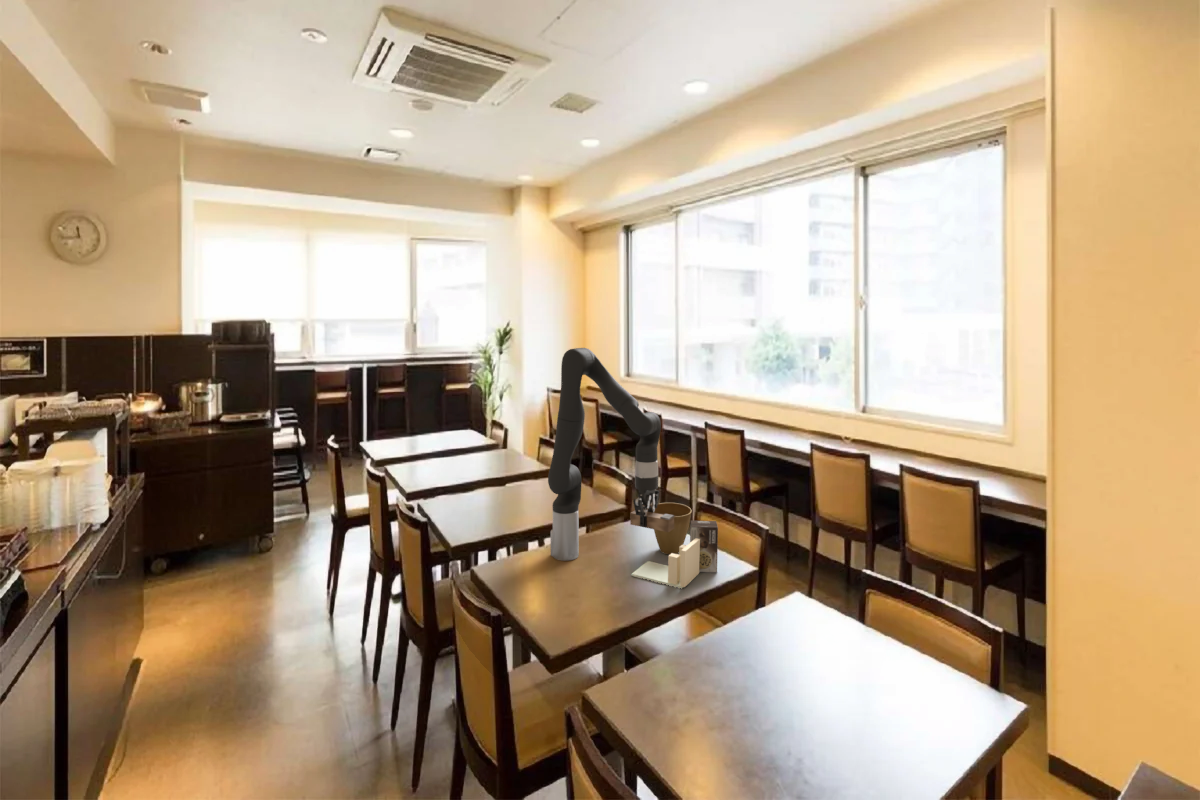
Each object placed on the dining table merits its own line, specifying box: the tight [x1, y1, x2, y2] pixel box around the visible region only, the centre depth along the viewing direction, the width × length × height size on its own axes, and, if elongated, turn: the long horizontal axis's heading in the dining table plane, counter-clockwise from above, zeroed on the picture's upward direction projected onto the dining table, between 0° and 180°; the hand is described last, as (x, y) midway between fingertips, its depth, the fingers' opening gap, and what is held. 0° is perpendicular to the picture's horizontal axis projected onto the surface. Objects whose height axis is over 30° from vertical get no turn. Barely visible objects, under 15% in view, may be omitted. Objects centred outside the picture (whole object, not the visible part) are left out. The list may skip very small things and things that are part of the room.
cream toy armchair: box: [631, 538, 700, 590], centre depth 198 cm, size 19×12×13 cm, turn 59°
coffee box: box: [689, 519, 719, 573], centre depth 203 cm, size 9×6×16 cm
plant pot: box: [653, 502, 693, 555], centre depth 218 cm, size 15×15×16 cm
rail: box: [629, 510, 674, 532], centre depth 195 cm, size 14×4×4 cm, turn 57°
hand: (646, 524), depth 196 cm, fingers closed on rail, 4 cm apart
